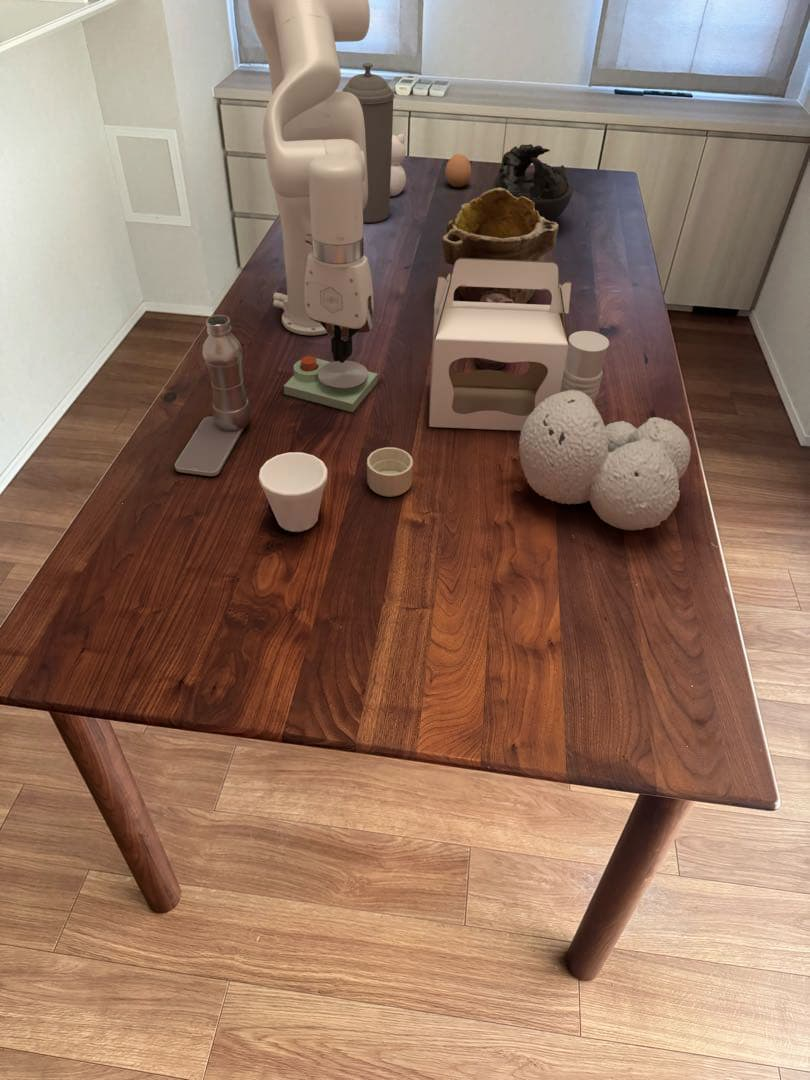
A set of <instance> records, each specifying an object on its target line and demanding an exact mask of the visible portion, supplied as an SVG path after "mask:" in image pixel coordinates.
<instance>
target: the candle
mask: <svg viewBox="0 0 810 1080" xmlns="http://www.w3.org/2000/svg"><path fill="white" fill-rule="evenodd" d="M568 340H569V347H568V353H567V358H566V363H565V368H564V374H563V379H562V384H561V389H560V392H564V391H568V390H574V391H581V392H583V393H585V394H586V395H587V396H589V398H591V399H592V401H593V403H594V406H595V407H596V400H597V396H598V395H599V392H600V388H601V382H602V377H603V375H604V370H603V367H604V362H605V359H606V358H605V357H606V353H607V350H608V348H609V346H610V341H609V339H608V337H606V336H605V335H603V334H601V333H599V332H596V331H591V330H580V331H575V332H573V333H571V334H570V335H569V336H568Z"/></svg>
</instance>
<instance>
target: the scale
mask: <svg viewBox="0 0 810 1080" xmlns="http://www.w3.org/2000/svg"><path fill="white" fill-rule="evenodd" d="M315 358H316V357H315ZM316 362H317V369H316V370H314V371H303V370H302V366H301V359H300V360H297V361H296V362H295V363H294V364H293V375H292V377H290V378H289V379H288V380H287V382H285V383H284V385H283V395H286V396H290V397H294V398H297V399H301V400H305V401H309V402H311V403H316V404H319V405H322V406H323V405H324V406H327V407H331V408H333V409H338V410H342V411H345V412H350V413H354V412H355V410H356V409H357V408H358V407H359V406H360V404H362V402H363V401H364V399H365V398H366V397H367V396H368V395H369V394H370V392H371V391H372V390H373V389H374V388H375V386H376V385H377V384H378V382H379V374H378V373H376V372H372V371H368V378H367V380H366V381H365V382H364V383H363V384H361V385H360V386H357V387H354V388H349V389H336V388H331V387H328V386H326V385H324V384H323V383H322V382H320V380H319V378H318V371H319V370H320V368H321V367H322V366H324V365H326V364H328V363H330V362H331V361H328V360H324V359H321V358H316Z"/></svg>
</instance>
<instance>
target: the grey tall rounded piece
mask: <svg viewBox="0 0 810 1080" xmlns="http://www.w3.org/2000/svg"><path fill="white" fill-rule="evenodd" d="M232 330H233V329H232V326H231V320H230V317H229V316H227V315H226V314H225V315H224V314H215V315H211V316H209V317H207V319H206V333H207V334H208V336H207V337H206V339H205V341H204V343H203V345H202V351H201V353H202V358H203V361H204V364H205V367H206V369H207V372H208V376H209V381H210V384H211V392H212V393H211V394H212V417H214V420H215V423H216V424H217V425H218V426H219V427H220V428H221V429H223V430H226V431H237V430H240V429H243V428H244V429H245V428H246V427H247V426H248V425H249V423H250V422H251V419H252V408H251V405H250V401H249V399H248V396H247V392H246V388H245V385H244V374H243V346H242V344H241V342H240V341H239V339H238V338H237V337H236V336H235V335H234V334H233V333H232ZM244 429H243V430H244Z"/></svg>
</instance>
